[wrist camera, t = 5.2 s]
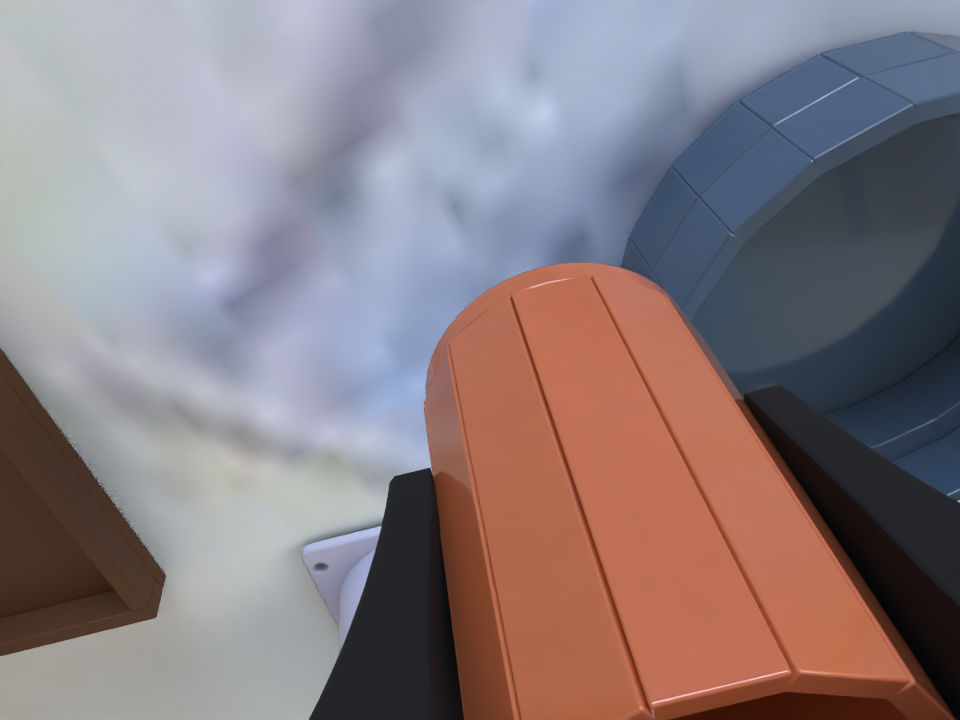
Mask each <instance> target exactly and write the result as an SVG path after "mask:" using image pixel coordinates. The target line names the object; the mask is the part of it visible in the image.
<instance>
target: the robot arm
mask: <svg viewBox="0 0 960 720" xmlns="http://www.w3.org/2000/svg"><path fill="white" fill-rule="evenodd" d="M744 401H745V402H746V404H747V405H748V407H749V408H750V410H751V411H752V413H753V414H754V416H755V417H756V419H757V420H758V422H759V423H760V425H761V426H762V428H763V429H764V431H765V432H766V434H767V435H768V437H769V438H770V440H771V441H772V443H773V444H774V446H775V447H776V449H777V450H778V452H779V453H780V455H781V456H782V457H783V459H784V460H785V462H786V464H787V465H788V467H789V468H790V470H791V471H792V473H793V474H794V476H795V477H796V479H797V480H798V482H799V483H800V485H801V486H802V488H803V489H804V491H805V492H806V494H807V495H808V497H809V498H810V500H811V501H812V503H813V504H814V506H815V507H816V509H817V510H818V512H819V513H820V515H821V516H822V518H823V519H824V521H825V522H826V524H827V525H828V527H829V528H830V530H831V531H832V533H833V534H834V536H835V537H836V539H837V540H838V542H839V543H840V545H841V546H842V548H843V549H844V551H845V552H846V554H847V555H848V557H849V558H850V560H851V561H852V563H853V564H854V566H855V567H856V569H857V570H858V572H859V573H860V575H861V576H862V578H863V580H864V581H865V583H866V584H867V586H868V587H869V589H870V590H871V592H872V593H873V595H874V596H875V598H876V599H877V601H878V602H879V604H880V605H881V607H882V608H883V610H884V611H885V613H886V614H887V616H888V617H889V619H890V620H891V622H892V623H893V625H894V626H895V628H896V629H897V631H898V632H899V634H900V635H901V637H902V638H903V640H904V641H905V643H906V644H907V646H908V647H909V649H910V650H911V652H912V653H913V655H914V656H915V658H916V659H917V661H918V662H919V664H920V665H921V667H922V668H923V670H924V671H925V673H926V674H927V676H928V677H929V679H930V680H931V682H932V683H933V685H934V686H935V688H936V689H937V691H938V693H939V694H940V696H941V697H942V699H943V700H944V702H945V703H946V705H947V706H948V708H949V709H950V711H951V712H952V714H953V715H954V717H955V718H956V720H960V503H959V502H957V501H956V500H954V499H952V498H950V497H949V496H947V495H945V494H944V493H942V492H940V491H938V490H937V489H935V488H933V487H932V486H930V485H928V484H926V483H925V482H923V481H921V480H920V479H918V478H917V477H915V476H913V475H912V474H910V473H909V472H907V471H905V470H904V469H902V468H901V467H899V466H897V465H896V464H894V463H893V462H891V461H890V460H888V459H887V458H885V457H884V456H882V455H881V454H879V453H878V452H876V451H875V450H873V449H871V448H870V447H868V446H867V445H865V444H864V443H862V442H861V441H860V440H858V439H857V438H855V437H854V436H852V435H851V434H849V433H848V432H846V431H845V430H844V429H842V428H841V427H839V426H838V425H836V424H835V423H834V422H832V421H831V420H829V419H828V418H826V417H825V416H824V415H822V414H821V413H819V412H818V411H817V410H815V409H814V408H812V407H811V406H810V405H808V404H807V403H805V402H804V401H803V400H801V399H800V398H798V397H797V396H796V395H794V394H793V393H791V392H790V391H788V390H787V389H786V388H784V387H783V386H781V385H776V386H772V387H768V388H764V389H759V390H755V391H751V392H747V393H744ZM302 561H303V563H304V565H305V567H306V569H307V571H308V573H309V574H310V576H311V578H312V580H313V582H314V584H315V586H316V587H317V589H318V591H319V593H320V595H321V597H322V598H323V600H324V602H325V604H326V606H327V608H328V610H329V611H330V613H331V615H332V617H333V619H334V621H335V622H336V624H337V626H338V628H339V656H338V658H337V661H336V663H335V665H334V668H333V670H332V672H331V675H330V677H329V679H328V681H327V683H326V685H325V688H324V690H323V692H322V694H321V696H320V698H319V701H318V703H317V705H316V707H315V708H314V710H313V712H312V714H311V716H310V718H309V720H464V716H463V708H462V700H461V693H460V685H459V677H458V669H457V662H456V654H455V646H454V638H453V631H452V623H451V615H450V607H449V600H448V592H447V584H446V576H445V569H444V561H443V553H442V545H441V534H440V521H439V514H438V506H437V498H436V491H435V483H434V478H433V475H432V472H431V469H430V468H427V469H423V470H419V471H415V472H411V473H406V474H402V475H398V476H395V477H394V478H393V479H392V480H391V482H390V484H389V492H388V498H387V503H386V509H385V513H384V518H383V522H382V526H378V527H374V528H370V529H366V530H362V531H358V532H354V533H350V534H346V535H342V536H338V537H334V538H330V539H326V540H322V541H318V542H314V543H311V544H308V545H306V546H305V547H304V548H303V551H302ZM319 563H323V564H319Z"/></svg>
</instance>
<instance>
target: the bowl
mask: <svg viewBox="0 0 960 720" xmlns="http://www.w3.org/2000/svg"><path fill="white" fill-rule="evenodd" d="M621 268H623V269H626V270H629V271H632V272H635V273H637V274H639V275H641V276H643V277H645V278H647V279H649V280H651V281H652V282H654V283H655V284H657V285H658V286H659V287H661V288H662V289H664V290H665V291H666V292H667V293H668V294H669V295H670V296H671V297H672V298H673V299H674V301H675V302H676V303H677V305H678V306H679V308H680V309H681V310H682V312H683V313H684V315H685V316H686V318H687V319H688V321H689V322H690V323H691V324H692V325H693V326H694V328H695V329H696V330H697V331H698V332H699V333H700V335H701V336H702V337H703V338H704V340H705V341H706V343H707V344H708V346H709V347H710V349H711V351H712V352H713V354H714V355H715V357H716V358H717V360H718V361H719V363H720V364H721V366H722V367H723V369H724V370H725V372H726V373H727V375H728V376H729V378H730V379H731V381H732V382H733V384H734V385H735V387H736V388H737V390H738V391H739V393H740V394H741V396H742V397H743V399H744V393H747V392H751V391H755V390H759V389H764V388H768V387H772V386H776V385H781V386H783V387H784V388H786V389H787V390H788V391H790V392H791V393H793V394H794V395H796V396H797V397H798V398H800V399H801V400H803V401H804V402H805V403H807V404H808V405H810V406H811V407H812V408H814V409H815V410H817V411H818V412H819V413H821V414H822V415H824V416H825V417H826V418H828V419H829V420H831V421H832V422H834V423H835V424H836V425H838V426H839V427H841V428H842V429H844V430H845V431H846V432H848V433H849V434H851V435H852V436H854V437H855V438H857V439H858V440H860V441H861V442H862V443H864V444H865V445H867V446H868V447H870V448H871V449H873V450H875V451H876V452H878V453H879V454H881V455H882V456H884V457H885V458H887V459H888V460H890V461H891V462H893V463H894V464H896V465H897V466H899V467H901V468H902V469H904V470H905V471H907V472H909V473H910V474H912V475H913V476H915V477H917V478H918V479H920V480H921V481H923V482H925V483H926V484H928V485H930V486H932V487H933V488H935V489H937V490H938V491H940V492H942V493H944V494H945V495H947V496H949V497H950V498H952V499H954V500H956V501H958V500H960V36H950V35H940V34H930V33H920V32H908V33H907V32H903V33H899V34H895V35H891V36H887V37H883V38H879V39H875V40H871V41H867V42H863V43H859V44H855V45H851V46H847V47H843V48H839V49H835V50H831V51H827V52H823V53H821V54H820V55H817V56H815V57H813V58H811V59H810V60H808V61H806V62H804V63H803V64H801V65H799V66H797V67H796V68H794V69H792V70H790V71H789V72H787V73H785V74H784V75H782V76H780V77H778V78H777V79H775V80H773V81H771V82H770V83H768V84H766V85H764V86H763V87H761V88H759V89H757V90H756V91H754V92H752V93H750V94H749V95H747V96H745V97H744V98H742V99H740V100H739V102H738V101H736V102H735V103H734V104H733V105H732V106H731V107H730V108H729V109H728V110H727V111H726V112H725V113H724V114H723V115H722V116H720V117H719V118H718V119H717V120H716V121H715V122H714V123H713V124H712V125H711V126H710V127H709V128H708V129H707V130H706V131H705V132H704V133H703V134H702V135H701V136H700V137H699V138H698V139H697V140H696V141H695V142H694V143H693V144H692V145H691V146H690V147H689V148H688V149H687V150H686V151H685V152H684V153H683V154H682V155H681V156H680V157H679V158H677V159H676V160H675V161H674V162H673V163H672V167H670V168H669V170H668V171H667V173H666V175H665V176H664V178H663V180H662V181H661V183H660V185H659V186H658V188H657V190H656V191H655V193H654V195H653V196H652V198H651V200H650V201H649V203H648V205H647V206H646V208H645V210H644V212H643V213H642V215H641V217H640V218H639V220H638V222H637V223H636V225H635V227H634V228H633V230H632V232H631V233H630V237H629V238H628V241H627V245H626V249H625V254H624V258H623V262H622V266H621Z"/></svg>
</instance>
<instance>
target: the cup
mask: <svg viewBox="0 0 960 720" xmlns="http://www.w3.org/2000/svg"><path fill="white" fill-rule="evenodd" d="M424 405H425V407H424V413H425V421H426V429H427V437H428V444H429V452H430V460H431V468H432V475H433V478H434V483H435V491H436V498H437V506H438V514H439V521H440V534H441V545H442V553H443V561H444V569H445V576H446V584H447V592H448V600H449V607H450V615H451V623H452V631H453V638H454V646H455V654H456V662H457V669H458V677H459V685H460V693H461V700H462V708H463V716H464V720H956V718H955V717H954V715H953V714H952V712H951V711H950V709H949V708H948V706H947V705H946V703H945V702H944V700H943V699H942V697H941V696H940V694H939V693H938V691H937V689H936V688H935V686H934V685H933V683H932V682H931V680H930V679H929V677H928V676H927V674H926V673H925V671H924V670H923V668H922V667H921V665H920V664H919V662H918V661H917V659H916V658H915V656H914V655H913V653H912V652H911V650H910V649H909V647H908V646H907V644H906V643H905V641H904V640H903V638H902V637H901V635H900V634H899V632H898V631H897V629H896V628H895V626H894V625H893V623H892V622H891V620H890V619H889V617H888V616H887V614H886V613H885V611H884V610H883V608H882V607H881V605H880V604H879V602H878V601H877V599H876V598H875V596H874V595H873V593H872V592H871V590H870V589H869V587H868V586H867V584H866V583H865V581H864V580H863V578H862V576H861V575H860V573H859V572H858V570H857V569H856V567H855V566H854V564H853V563H852V561H851V560H850V558H849V557H848V555H847V554H846V552H845V551H844V549H843V548H842V546H841V545H840V543H839V542H838V540H837V539H836V537H835V536H834V534H833V533H832V531H831V530H830V528H829V527H828V525H827V524H826V522H825V521H824V519H823V518H822V516H821V515H820V513H819V512H818V510H817V509H816V507H815V506H814V504H813V503H812V501H811V500H810V498H809V497H808V495H807V494H806V492H805V491H804V489H803V488H802V486H801V485H800V483H799V482H798V480H797V479H796V477H795V476H794V474H793V473H792V471H791V470H790V468H789V467H788V465H787V464H786V462H785V460H784V459H783V457H782V456H781V455H780V453H779V452H778V450H777V449H776V447H775V446H774V444H773V443H772V441H771V440H770V438H769V437H768V435H767V434H766V432H765V431H764V429H763V428H762V426H761V425H760V423H759V422H758V420H757V419H756V417H755V416H754V414H753V413H752V411H751V410H750V408H749V407H748V405H747V404H746V402H745V401H744V399H743V397H742V396H741V394H740V393H739V391H738V390H737V388H736V387H735V385H734V384H733V382H732V381H731V379H730V378H729V376H728V375H727V373H726V372H725V370H724V369H723V367H722V366H721V364H720V363H719V361H718V360H717V358H716V357H715V355H714V354H713V352H712V351H711V349H710V347H709V346H708V344H707V343H706V341H705V340H704V338H703V337H702V336H701V335H700V333H699V332H698V331H697V330H696V329H695V328H694V326H693V325H692V324H691V323H690V322H689V321H688V319H687V318H686V316H685V315H684V313H683V312H682V310H681V309H680V308H679V306H678V305H677V303H676V302H675V301H674V299H673V298H672V297H671V296H670V295H669V294H668V293H667V292H666V291H665V290H664V289H662V288H661V287H659V286H658V285H657V284H655V283H654V282H652V281H651V280H649V279H647V278H645V277H643V276H641V275H639V274H637V273H635V272H632V271H629V270H626V269H623V268H620V267H616V266H611V265H606V264H600V263H584V262H578V263H562V264H556V265H551V266H545V267H541V268H537V269H534V270H531V271H527V272H524V273H522V274H519V275H517V276H514V277H512V278H510V279H507V280H505V281H503V282H502V283H500V284H498V285H496V286H494V287H493V288H491V289H489V290H488V291H486V292H485V293H484V294H482V295H481V296H479V297H478V298H477V299H475V300H474V301H473V302H472V303H470V304H469V305H468V306H467V307H466V308H465V309H464V310H463V311H462V312H461V313H460V314H459V315H458V316H457V317H456V318H455V320H454V321H453V322H452V323H451V324H450V326H449V327H448V328H447V330H446V331H445V333H444V335H443V336H442V338H441V339H440V341H439V342H438V344H437V347H436V349H435V351H434V353H433V355H432V358H431V361H430V365H429V368H428V372H427V379H426V399H425V402H424Z"/></svg>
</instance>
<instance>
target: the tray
mask: <svg viewBox="0 0 960 720" xmlns="http://www.w3.org/2000/svg"><path fill="white" fill-rule="evenodd" d="M165 577H166V576H165V574H164V573H163V571H162V570H161V568H160V567H159V566H158V564H157V563H156V562H155V560H154V559H153V557H152V556H151V555H150V553H149V552H148V551H147V549H146V548H145V546H144V545H143V544H142V542H141V541H140V540H139V538H138V537H137V535H136V534H135V533H134V531H133V530H132V529H131V527H130V526H129V525H128V523H127V522H126V520H125V519H124V518H123V516H122V515H121V514H120V512H119V511H118V509H117V508H116V507H115V505H114V504H113V503H112V501H111V500H110V498H109V497H108V496H107V494H106V493H105V492H104V490H103V489H102V487H101V486H100V485H99V483H98V482H97V481H96V479H95V478H94V476H93V475H92V474H91V472H90V471H89V470H88V468H87V467H86V465H85V464H84V463H83V461H82V460H81V459H80V457H79V456H78V455H77V453H76V452H75V450H74V449H73V448H72V446H71V445H70V444H69V442H68V441H67V439H66V438H65V437H64V435H63V434H62V433H61V431H60V430H59V428H58V427H57V426H56V424H55V423H54V422H53V420H52V419H51V417H50V416H49V415H48V413H47V412H46V411H45V409H44V408H43V406H42V405H41V404H40V402H39V401H38V400H37V398H36V397H35V396H34V394H33V393H32V391H31V390H30V389H29V387H28V386H27V385H26V383H25V382H24V380H23V379H22V378H21V376H20V375H19V374H18V372H17V371H16V369H15V368H14V367H13V365H12V364H11V363H10V361H9V360H8V358H7V357H6V356H5V354H4V353H3V352H2V350H1V349H0V656H3V655H8V654H12V653H16V652H20V651H24V650H28V649H32V648H36V647H40V646H44V645H48V644H52V643H56V642H60V641H64V640H68V639H72V638H76V637H80V636H84V635H89V634H93V633H97V632H101V631H105V630H109V629H113V628H117V627H121V626H125V625H129V624H133V623H137V622H141V621H145V620H149V619H153V618H156V617H157V612H158V608H159V604H160V599H161V595H162V591H163V590H162V588H163V586H164V582H165Z"/></svg>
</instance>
